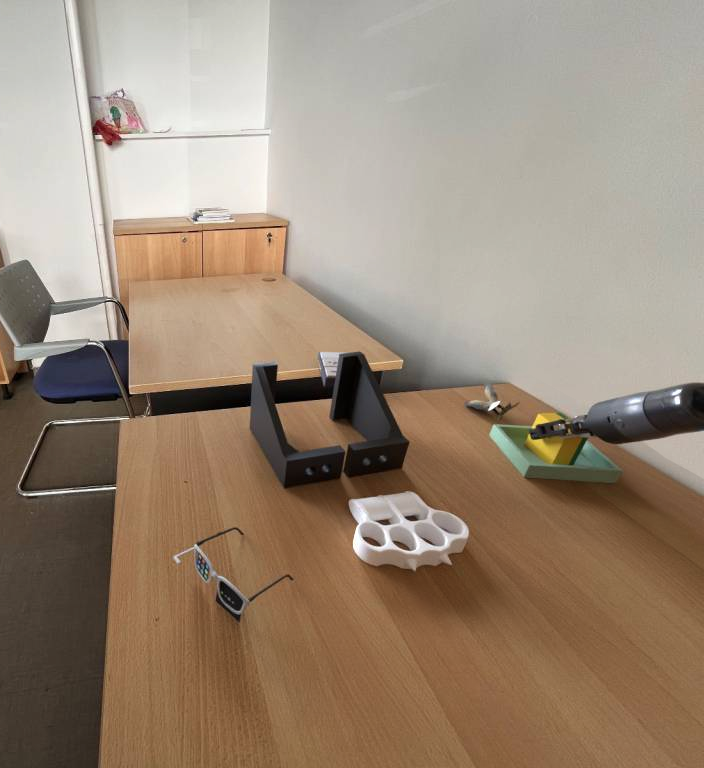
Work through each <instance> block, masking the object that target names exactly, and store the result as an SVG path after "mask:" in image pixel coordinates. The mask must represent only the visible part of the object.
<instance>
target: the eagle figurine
mask: <svg viewBox="0 0 704 768" xmlns="http://www.w3.org/2000/svg"><path fill="white" fill-rule="evenodd" d="M483 388H484V389H483V390H484V394H485V397H486V399H488V400H487V401H483V400H479V399H475V400H471V401H470V400H468V401H465V402H464V406H466V407H472V408H475V409H476V410H481V411H482V410H485V409H488V410H487V412H489V411H492V412H493V413H494V414H495V415H497V421H500V420H501V419H502V417H504V416H505V415H506V414H507V413H508V412H509V411H511V410H512V409H514V408H515V407H517V406H518V405H519V404H520V401H518V402H516V403H514V404H512V403H511V402H510V401H509V402H508V403H507V404H506V405H505V406H503V405H502V404H501V401H500V400H498V399H499V397H498V394H497V392H496V391H495V390H494V388H493V383H492V382H491V381H486V382H485V383H484V384H483ZM497 408H498V409H501V411H500V412H499V411H498V409H497Z"/></svg>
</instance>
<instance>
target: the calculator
mask: <svg viewBox="0 0 704 768" xmlns="http://www.w3.org/2000/svg"><path fill="white" fill-rule="evenodd" d="M342 353H343V352H336V351H335V352H333V351H320V352H319V351H318V356H317V360H319V363H320V366H321V373H320V377H321V380H322V384H323V387H324V388H331V389H332V388H333V389H334V384H335V378H336V372H337V365H338V359H339V354H342Z"/></svg>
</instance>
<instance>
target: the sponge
mask: <svg viewBox="0 0 704 768" xmlns="http://www.w3.org/2000/svg"><path fill="white" fill-rule="evenodd" d="M559 419H562V420H563V419H570V418H569V417H567V416H566V415H564V414H563V413H561V412H542V413H541V412H540V413H538V414H537V416H536V418H535V420H534V422H533V425H532V426H533V427H532V429H533V428H536V426H535V425H538V424H543V423H548V422H552V421H557V420H559ZM569 423H570V422H567V423H566V424H569ZM568 432H569V433H567V434H568V435H572V433H571V432H570V429H569V430H568ZM588 439H589V437H587V438H584V437H575V438H567V439H565V438H561V437H552V438H549V439H548V438H544V439H539V440H532V439H531V437H530V433H529V436H528V438H527V440H526V442H525V444H524V446H525V447H527V448H528V449H529V450H530V451H532V452H533V453H534V454H535V455H536V456H538V457H539V458H540V459H541V460H542V461H544V462H545V463H546V464H557V465H574V463H575V461H576V459H577V458H578V456H579V454H580V452H581V450H582V448H583V447H584V445H585V443H586V441H587V440H588Z"/></svg>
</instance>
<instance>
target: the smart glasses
mask: <svg viewBox="0 0 704 768" xmlns="http://www.w3.org/2000/svg"><path fill="white" fill-rule="evenodd" d="M231 531H237V532H238V533H239V534H240V535H241V536H244V535H245V533H244V532H242V530H241V529H240V528H238V527H236V526H234V527H231V528H228V529H226V530H223V531H219V532H217V533H216V534H213V535H211V536H208V537H206V538H204V539H201V540H199V541H197V542H195V544H194V545H193V547H191V548H188V549H186V550H184V551H182V552H180V553H177V554H176V555H173V556H172V559H173V560H174V561H175V563H176V564H177V565H180V564H181V560H180V559H179V558H181V557H183V556H184V555H186V554H189V553H191V552H193V553H194V554H193V561H194V567H195V570H196V572H197V573H198V575H199V577H200V578H201V579H202V581H203V582H204V583H205V584H210V583H211V582H212V581H213V579H215V581H216V587H217V589H216V593H215V594H216V595H215V600H214V601H215V602H216V603H217V604H218V605H219V606H220V607H221V608H222V609H223V610H224V611H226V612H227V613H228V614H229V616H231V617H232V618H234V620H235V621H236V622H238V623H240V622H241V617H242V614H243V613H244V612H245V610H246V608H247V607H248V606H249V605H250V603H252V602H253V601H254V600H255V599H256V598H257V597H258V596H260V595H261V594H264V592H266V591H268V590H269V589H270V588H272V587H273V586H275V585H277V584H279V582H281V581H282V580H284V579H285V578H286V579H287V578H288V579H289V580H290V581H294V578H293V577H292V575H291V574H289V573H287V574H284V575H282V576H281V577H280V578H278V579H276V580H275V581H273V582H272V583H270V584H268V585H267V586H266V587H264V588H262V589H261V590H259V591H258V592H257V593H255V594H253V595H252V596H250V597H249V598H247V597H246V596H245V595H244V594H243V593H242V592H241V591H240V590H239V589H238V588H237V587H236V586H235V585H234V584H233V583H232V582H231V581H229V580H228V578H226V577H224V576H222V575H219V574H218V573H217V572H216V571H215V568H214V566H213V564H212V562H211V561H210V559H209V558H208V557H207V556H206V554H205V553H204V552H203V550H201V548H200V546H202V545H204V543H206V542H208V541H211V540H212V539H215V538H218V537H220V536H222V535H225V534H227V533H229V532H231Z"/></svg>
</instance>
